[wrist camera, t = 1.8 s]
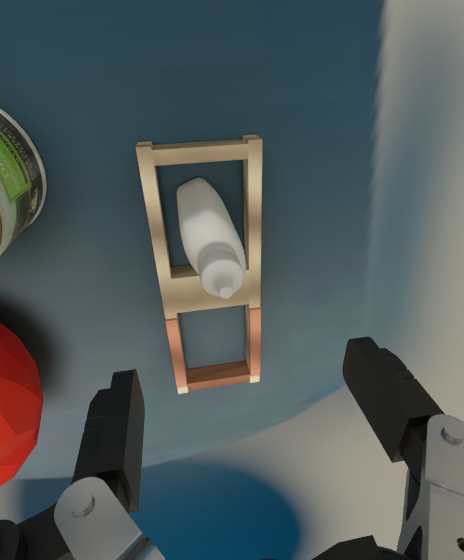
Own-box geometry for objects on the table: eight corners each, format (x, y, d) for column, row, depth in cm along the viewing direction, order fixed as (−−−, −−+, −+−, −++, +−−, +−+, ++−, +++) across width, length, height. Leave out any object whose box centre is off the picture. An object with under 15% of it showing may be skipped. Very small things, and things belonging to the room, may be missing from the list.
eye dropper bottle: (233, 177, 26) (275, 242, 16) (228, 243, 29) (261, 333, 19) (176, 174, 25) (183, 242, 15) (176, 243, 28) (182, 337, 18)
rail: (137, 142, 24) (135, 148, 22) (255, 134, 25) (263, 139, 23) (177, 379, 37) (178, 396, 35) (255, 367, 38) (259, 383, 36)
